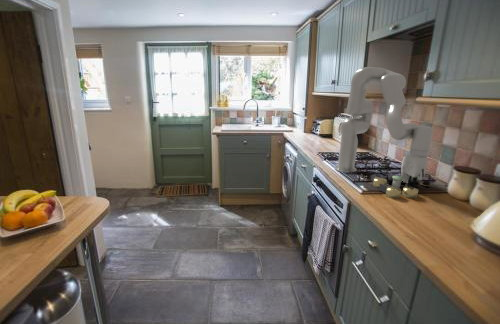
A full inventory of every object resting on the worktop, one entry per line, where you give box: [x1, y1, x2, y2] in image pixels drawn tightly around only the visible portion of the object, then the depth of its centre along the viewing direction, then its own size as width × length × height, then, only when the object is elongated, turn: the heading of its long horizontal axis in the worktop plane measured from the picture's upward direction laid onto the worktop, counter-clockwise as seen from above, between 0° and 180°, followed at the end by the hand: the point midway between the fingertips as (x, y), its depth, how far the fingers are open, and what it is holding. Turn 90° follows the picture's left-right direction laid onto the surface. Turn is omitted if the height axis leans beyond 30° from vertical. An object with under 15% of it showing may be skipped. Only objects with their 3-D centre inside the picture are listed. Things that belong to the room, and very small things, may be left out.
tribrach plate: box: [391, 175, 403, 189], centre depth 127 cm, size 19×15×7 cm
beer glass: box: [400, 154, 408, 184], centre depth 139 cm, size 7×7×15 cm
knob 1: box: [378, 184, 402, 200], centre depth 123 cm, size 10×6×4 cm, turn 25°
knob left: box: [370, 174, 388, 189], centre depth 135 cm, size 10×6×4 cm, turn 3°
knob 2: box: [401, 183, 419, 200], centre depth 124 cm, size 10×6×4 cm, turn 161°
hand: (410, 188), depth 129 cm, fingers closed
